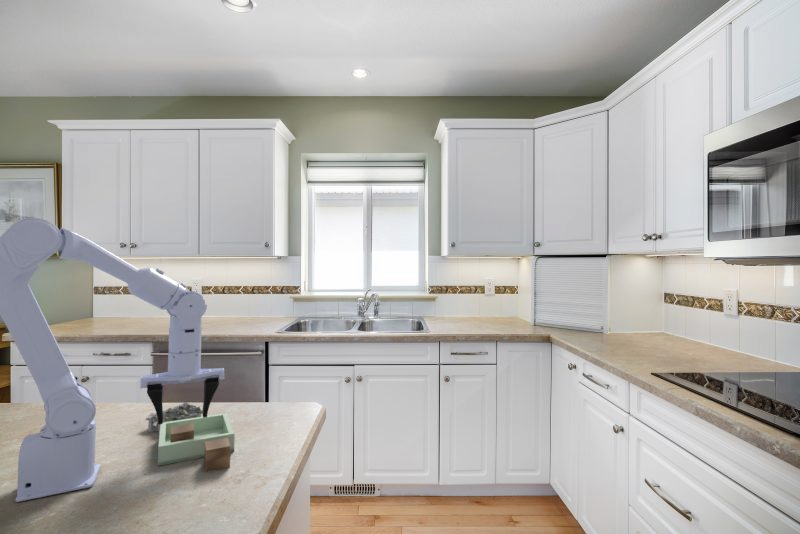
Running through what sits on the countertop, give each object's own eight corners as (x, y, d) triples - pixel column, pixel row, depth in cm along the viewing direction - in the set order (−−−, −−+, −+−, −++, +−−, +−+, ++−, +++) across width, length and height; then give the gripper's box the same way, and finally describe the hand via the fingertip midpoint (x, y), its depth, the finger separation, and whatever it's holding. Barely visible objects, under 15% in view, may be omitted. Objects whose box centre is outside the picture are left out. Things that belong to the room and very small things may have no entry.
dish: (157, 466, 72) (158, 446, 72) (160, 439, 83) (160, 422, 83) (234, 451, 78) (234, 433, 78) (226, 428, 90) (227, 412, 90)
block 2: (205, 473, 70) (206, 450, 70) (204, 463, 73) (204, 441, 74) (229, 467, 72) (230, 446, 72) (227, 458, 75) (228, 437, 76)
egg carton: (162, 437, 85) (163, 418, 85) (142, 430, 88) (142, 412, 88) (206, 421, 94) (207, 404, 94) (186, 415, 98) (186, 399, 98)
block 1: (169, 455, 75) (170, 434, 75) (170, 447, 78) (171, 426, 78) (193, 451, 77) (194, 430, 77) (193, 443, 80) (193, 423, 80)
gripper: (139, 357, 71) (137, 433, 71) (226, 351, 78) (225, 419, 78) (142, 350, 77) (140, 420, 77) (223, 345, 84) (221, 408, 84)
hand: (183, 419), depth 78 cm, fingers open, 7 cm apart
